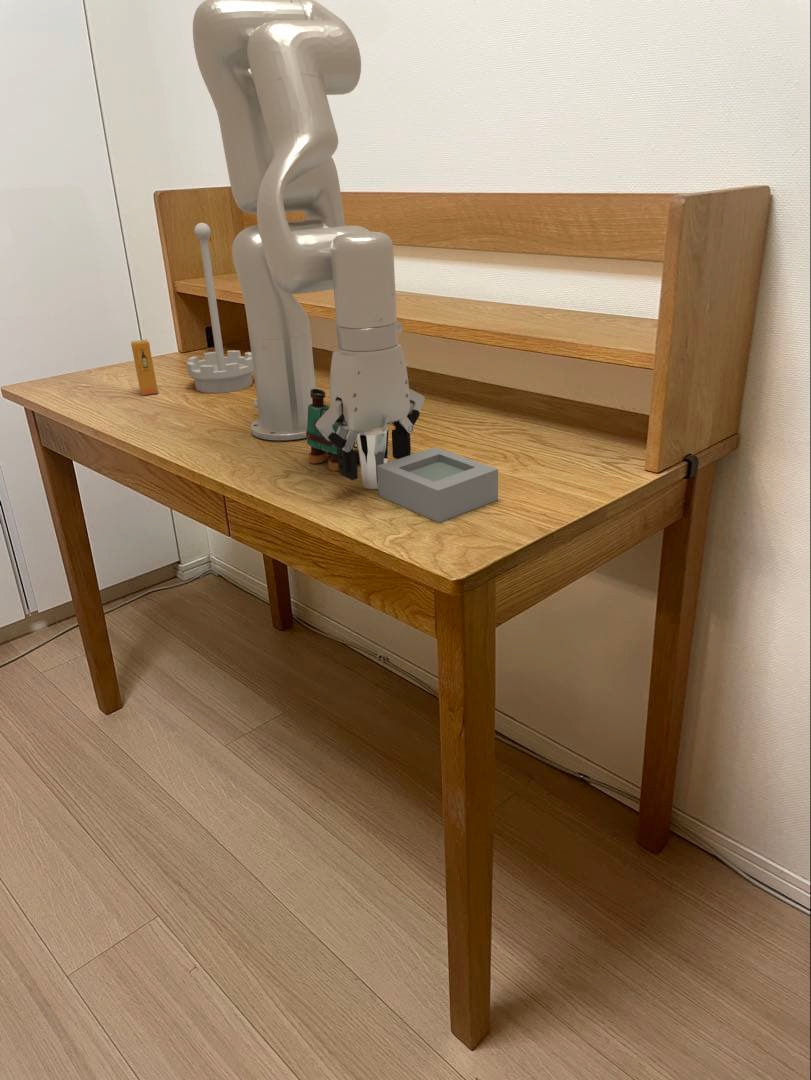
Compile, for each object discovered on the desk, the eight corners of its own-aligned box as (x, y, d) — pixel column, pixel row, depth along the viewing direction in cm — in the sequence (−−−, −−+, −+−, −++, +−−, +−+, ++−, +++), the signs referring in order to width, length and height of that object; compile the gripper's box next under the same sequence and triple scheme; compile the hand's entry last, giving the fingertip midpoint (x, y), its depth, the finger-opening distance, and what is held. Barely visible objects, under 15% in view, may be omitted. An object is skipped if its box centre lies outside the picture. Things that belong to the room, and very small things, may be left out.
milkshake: (379, 495, 111) (375, 422, 106) (351, 486, 114) (345, 415, 110) (403, 484, 114) (399, 413, 109) (374, 476, 117) (369, 406, 113)
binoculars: (388, 391, 120) (334, 400, 114) (387, 462, 124) (334, 475, 118) (347, 381, 126) (294, 389, 120) (347, 449, 130) (295, 461, 123)
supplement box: (157, 389, 164) (148, 338, 160) (158, 394, 161) (149, 341, 157) (139, 391, 164) (130, 340, 159) (140, 396, 161) (131, 343, 156)
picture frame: (378, 495, 110) (376, 465, 109) (436, 475, 116) (435, 447, 114) (439, 522, 102) (438, 490, 100) (498, 499, 107) (498, 469, 106)
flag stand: (257, 391, 160) (237, 223, 147) (187, 397, 159) (160, 228, 146) (257, 374, 172) (238, 217, 159) (193, 379, 170) (168, 222, 158)
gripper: (402, 322, 113) (408, 446, 120) (292, 345, 103) (306, 478, 111) (439, 330, 107) (443, 459, 115) (326, 354, 98) (338, 493, 105)
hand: (375, 468), depth 113 cm, fingers open, 8 cm apart
